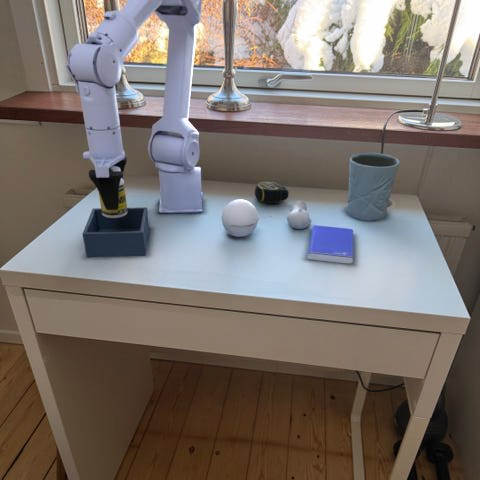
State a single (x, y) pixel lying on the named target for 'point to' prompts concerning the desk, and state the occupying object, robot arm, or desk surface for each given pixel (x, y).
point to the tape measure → (270, 192)
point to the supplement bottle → (122, 201)
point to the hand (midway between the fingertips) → (114, 203)
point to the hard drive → (331, 244)
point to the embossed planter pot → (370, 185)
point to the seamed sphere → (240, 218)
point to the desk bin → (117, 234)
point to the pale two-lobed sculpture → (298, 215)
